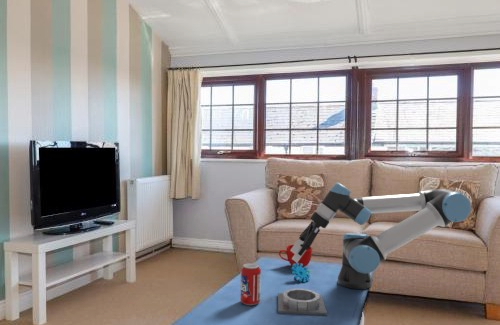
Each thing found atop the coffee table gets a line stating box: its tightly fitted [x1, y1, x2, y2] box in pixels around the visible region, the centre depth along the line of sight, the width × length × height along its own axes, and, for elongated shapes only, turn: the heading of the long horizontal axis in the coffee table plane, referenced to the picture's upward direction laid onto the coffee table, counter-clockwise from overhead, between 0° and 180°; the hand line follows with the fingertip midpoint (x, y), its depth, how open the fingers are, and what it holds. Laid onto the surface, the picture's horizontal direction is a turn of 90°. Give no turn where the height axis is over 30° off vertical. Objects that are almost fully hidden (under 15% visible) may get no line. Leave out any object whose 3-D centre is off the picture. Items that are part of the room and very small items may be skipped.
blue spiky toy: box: [291, 263, 312, 283], centre depth 195 cm, size 11×6×10 cm
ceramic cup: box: [278, 244, 313, 268], centre depth 214 cm, size 13×17×10 cm
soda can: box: [240, 262, 262, 306], centre depth 166 cm, size 8×8×15 cm
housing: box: [277, 288, 328, 316], centre depth 165 cm, size 18×18×4 cm
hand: (293, 256), depth 178 cm, fingers open, 13 cm apart
